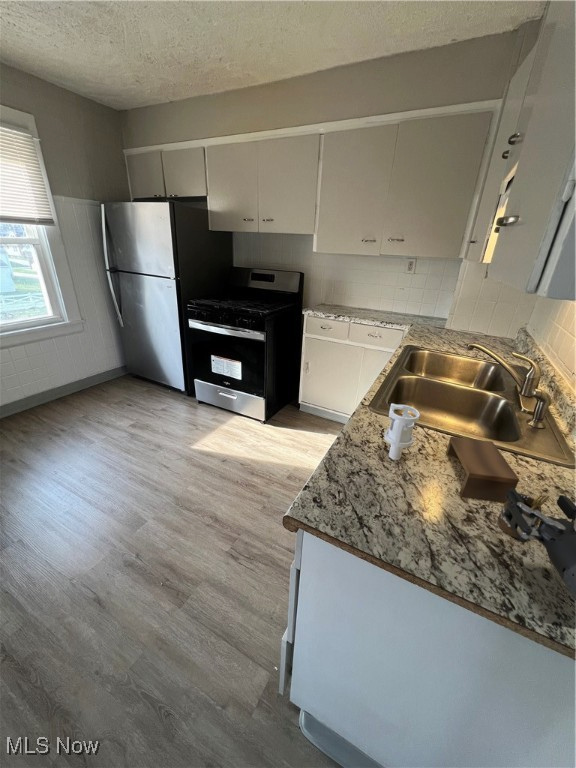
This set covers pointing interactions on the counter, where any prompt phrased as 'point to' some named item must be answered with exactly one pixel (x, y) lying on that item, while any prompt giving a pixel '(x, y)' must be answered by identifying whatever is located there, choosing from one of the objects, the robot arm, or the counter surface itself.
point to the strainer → (400, 430)
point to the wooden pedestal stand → (482, 469)
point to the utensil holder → (528, 502)
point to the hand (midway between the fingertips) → (534, 495)
